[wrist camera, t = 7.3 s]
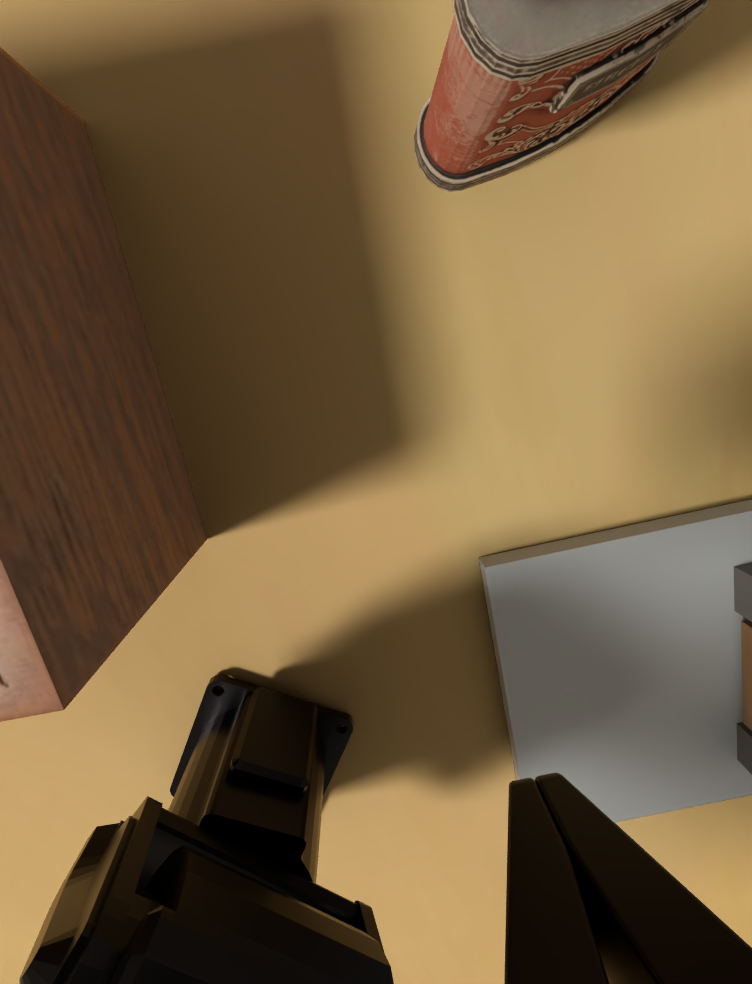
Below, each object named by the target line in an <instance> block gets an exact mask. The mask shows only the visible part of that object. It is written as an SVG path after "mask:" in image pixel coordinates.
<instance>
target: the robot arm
mask: <svg viewBox="0 0 752 984" xmlns="http://www.w3.org/2000/svg"><path fill="white" fill-rule="evenodd" d="M215 686H221V687H223V689H224V690H218V689H217V688H216V687H215ZM339 724H344V725H346V726H344V727H339V726H338V725H339ZM352 731H353V719H352V717H351V716H350V715H349V714H347V713H344V712H341V711H337V710H334V709H331V708H328V707H325V706H321V705H318V704H315V703H312V702H309V701H305V700H302V699H299V698H296V697H293V696H289V695H286V694H283V693H280V692H277V691H273V690H270V689H267V688H264V687H260V686H257V685H254V684H251V683H247V682H244V681H241V680H238V679H234V678H231V677H228V676H225V675H216V676H214V677H213V678H211V680H210V681H209V684H208V686H207V688H206V691H205V694H204V696H203V699H202V702H201V705H200V707H199V710H198V713H197V716H196V718H195V721H194V724H193V727H192V730H191V732H190V735H189V738H188V741H187V743H186V746H185V749H184V752H183V754H182V757H181V760H180V763H179V765H178V768H177V771H176V774H175V777H174V779H173V782H172V785H171V788H170V792H171V795H172V796H173V797H174V798H173V800H172V803H171V805H170V808H169V810H166V809H164V808H162V803H160V802H158V801H156V800H154V799H152V798H150V797H148V796H147V797H146V799H145V800H144V801H143V803H142V804H141V805H140V807H139V808H138V809H137V811H136V812H135V813H134V815H133V816H129V817H128V818H127V820H126V821H125V822H124V821H122V820H121V821H120V823H117V824H110V825H104V826H98V827H96V828H95V830H94V831H93V833H92V834H91V835H90V837H89V838H88V839H87V841H86V843H85V845H84V847H83V848H82V850H81V852H80V854H79V855H78V857H77V859H76V861H75V863H74V864H73V866H72V868H71V870H70V871H69V873H68V875H67V877H66V879H65V880H64V882H63V884H62V886H61V888H60V890H59V892H58V893H57V895H56V897H55V899H54V901H53V903H52V905H51V907H50V909H49V912H48V914H47V916H46V918H45V921H44V923H43V925H42V928H41V930H40V932H39V935H38V937H37V939H36V942H35V944H34V946H33V949H32V951H31V953H30V956H29V958H28V960H27V962H26V965H25V967H24V969H23V972H22V974H21V976H20V979H19V981H20V984H394V983H393V977H392V972H391V967H390V964H389V962H388V960H387V958H386V956H385V953H384V950H383V946H382V943H381V939H380V936H379V932H378V929H377V925H376V922H375V918H374V915H373V911H372V908H371V907H370V906H368V905H366V904H364V903H362V902H360V901H355V902H352V901H350V900H348V899H346V898H344V897H342V896H340V895H338V894H336V893H334V892H332V891H330V890H328V889H326V888H324V887H322V886H320V885H318V884H316V876H317V863H318V851H319V838H320V825H321V813H322V800H323V795H324V793H325V791H326V788H327V786H328V784H329V782H330V780H331V777H332V775H333V773H334V771H335V769H336V767H337V764H338V762H339V760H340V758H341V756H342V753H343V751H344V749H345V747H346V745H347V743H348V740H349V738H350V736H351V734H352ZM505 984H752V948H751V947H750V946H749V945H748V944H747V943H746V942H745V941H744V940H742V939H741V938H740V937H739V936H738V935H737V934H736V933H735V932H734V931H733V930H731V929H730V928H729V927H728V926H727V925H726V924H725V923H724V922H723V921H722V920H721V919H719V918H718V917H717V916H716V915H715V914H714V913H713V912H712V911H711V910H710V909H708V908H707V907H706V906H705V905H704V904H703V903H702V902H701V901H700V900H699V899H698V898H696V897H695V896H694V895H693V894H692V893H691V892H690V891H689V890H688V889H687V888H685V887H684V886H683V885H682V884H681V883H680V882H679V881H678V880H677V879H676V878H674V877H673V876H672V875H671V874H670V873H669V872H668V871H667V870H666V869H665V868H664V867H662V866H661V865H660V864H659V863H658V862H657V861H656V860H655V859H654V858H653V857H651V856H650V855H649V854H648V853H647V852H646V851H645V850H644V849H643V848H642V847H641V846H639V845H638V844H637V843H636V842H635V841H634V840H633V839H632V838H631V837H630V836H628V835H627V834H626V833H625V832H624V831H623V830H622V829H621V828H620V827H619V826H618V825H616V824H615V823H614V822H613V821H612V820H611V819H610V818H609V817H608V816H607V815H605V814H604V813H603V812H602V811H601V810H600V809H599V808H598V807H597V806H596V805H594V804H593V803H592V802H591V801H590V800H589V799H588V798H587V797H586V796H585V795H584V794H582V793H581V792H580V791H579V790H578V789H577V788H576V787H575V786H574V785H573V784H571V783H570V782H569V781H568V780H567V779H566V778H565V777H564V776H563V775H561V774H560V773H550V774H545V775H540V776H537V777H536V778H535V780H534V779H532V778H525V779H520V780H515V781H512V782H510V784H509V807H508V852H507V897H506V942H505Z"/></svg>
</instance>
